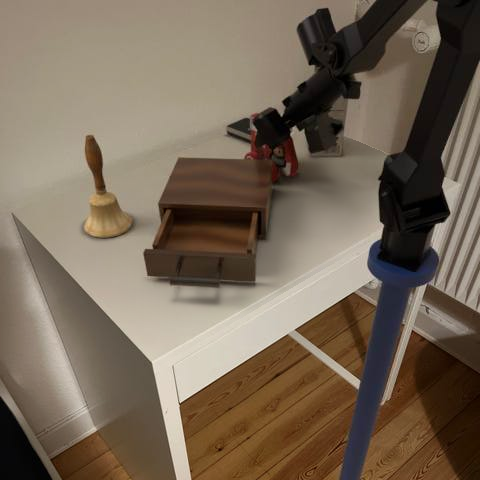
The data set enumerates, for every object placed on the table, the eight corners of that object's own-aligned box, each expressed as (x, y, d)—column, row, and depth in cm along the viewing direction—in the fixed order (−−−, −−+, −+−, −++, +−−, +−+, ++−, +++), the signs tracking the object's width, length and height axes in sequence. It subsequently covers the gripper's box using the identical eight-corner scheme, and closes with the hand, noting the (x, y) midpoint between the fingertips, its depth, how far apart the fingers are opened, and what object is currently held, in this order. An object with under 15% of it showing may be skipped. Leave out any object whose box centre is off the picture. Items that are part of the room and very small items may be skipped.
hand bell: (124, 208, 93) (106, 121, 82) (138, 230, 87) (121, 140, 76) (79, 220, 90) (55, 132, 79) (91, 243, 85) (66, 152, 74)
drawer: (252, 301, 72) (252, 277, 69) (140, 294, 73) (135, 271, 70) (263, 224, 86) (263, 202, 83) (169, 221, 87) (166, 198, 85)
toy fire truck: (279, 190, 96) (280, 136, 89) (239, 167, 103) (237, 116, 96) (305, 178, 99) (309, 126, 92) (264, 157, 106) (265, 107, 99)
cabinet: (265, 239, 84) (266, 207, 80) (162, 235, 86) (157, 203, 82) (272, 190, 96) (273, 159, 92) (181, 187, 98) (178, 157, 94)
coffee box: (308, 138, 113) (314, 60, 102) (337, 138, 112) (346, 60, 101) (311, 157, 106) (318, 76, 95) (342, 156, 106) (352, 75, 95)
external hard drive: (246, 125, 119) (246, 117, 117) (282, 138, 113) (282, 129, 112) (225, 134, 115) (225, 126, 114) (261, 148, 109) (261, 139, 108)
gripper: (320, 151, 81) (263, 194, 93) (371, 113, 92) (314, 156, 104) (280, 91, 79) (227, 143, 91) (338, 59, 90) (283, 109, 102)
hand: (266, 139), depth 97 cm, fingers open, 7 cm apart
